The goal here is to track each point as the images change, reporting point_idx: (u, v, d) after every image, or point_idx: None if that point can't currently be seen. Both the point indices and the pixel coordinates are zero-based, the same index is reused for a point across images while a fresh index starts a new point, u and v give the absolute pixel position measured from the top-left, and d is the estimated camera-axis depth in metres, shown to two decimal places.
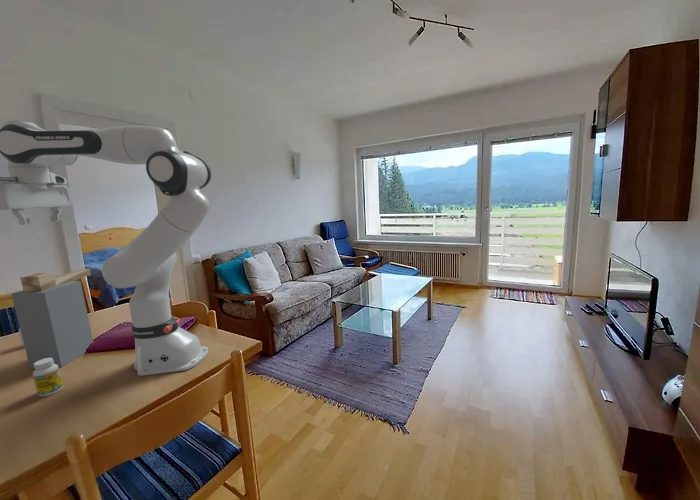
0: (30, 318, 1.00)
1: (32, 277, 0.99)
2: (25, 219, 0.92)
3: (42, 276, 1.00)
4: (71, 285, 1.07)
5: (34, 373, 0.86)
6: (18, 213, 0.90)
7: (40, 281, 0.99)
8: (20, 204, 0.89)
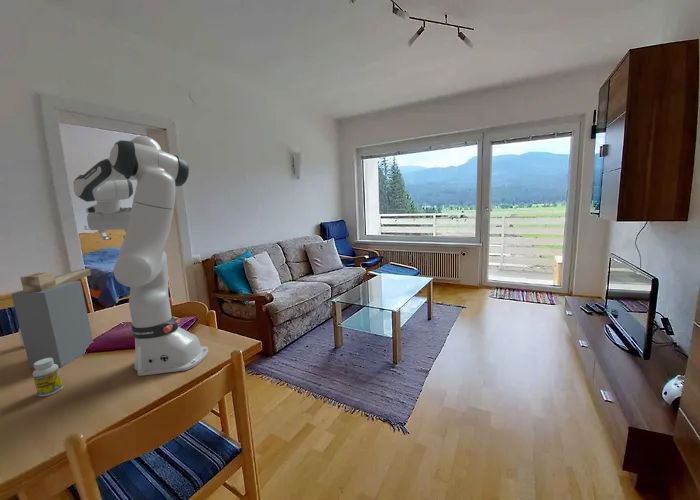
0: (30, 318, 1.00)
1: (32, 277, 0.99)
2: None
3: (42, 276, 1.00)
4: (71, 285, 1.07)
5: (34, 373, 0.86)
6: None
7: (40, 281, 0.99)
8: None
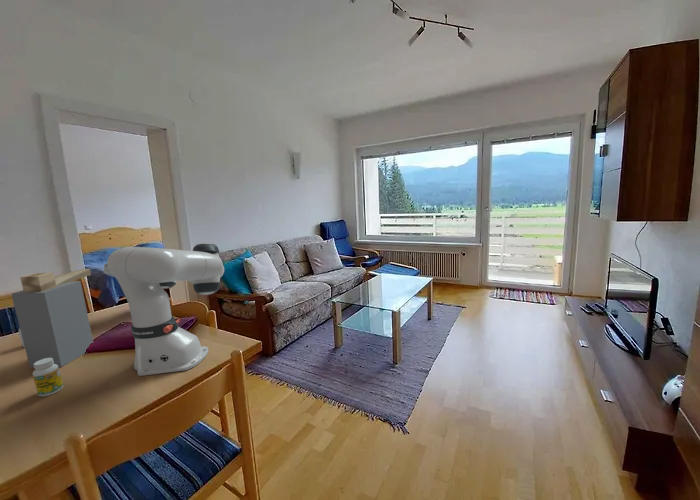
0: (30, 318, 1.00)
1: (32, 277, 0.99)
2: None
3: (42, 276, 1.00)
4: (71, 285, 1.07)
5: (34, 373, 0.86)
6: None
7: (40, 281, 0.99)
8: None
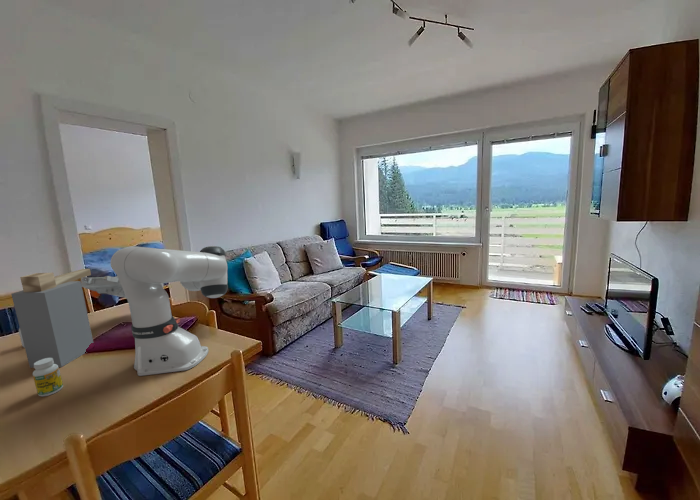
0: (30, 318, 1.00)
1: (32, 277, 0.99)
2: (109, 280, 1.24)
3: (42, 276, 1.00)
4: (71, 285, 1.07)
5: (34, 373, 0.86)
6: (115, 281, 1.26)
7: (40, 281, 0.99)
8: (119, 285, 1.28)
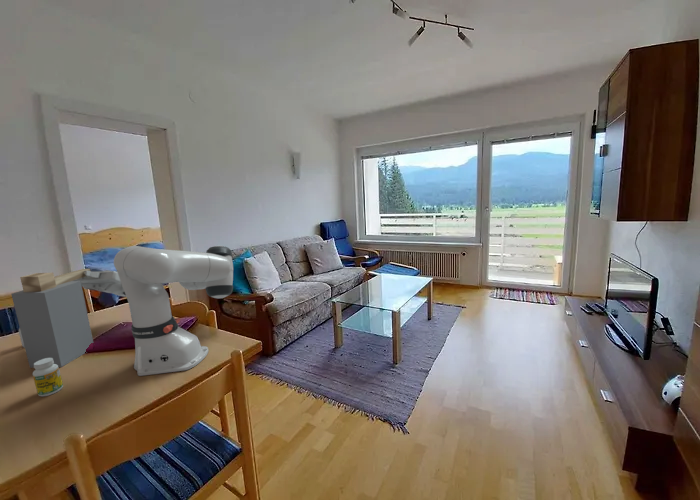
0: (30, 318, 1.00)
1: (32, 277, 0.99)
2: (88, 275, 1.17)
3: (42, 276, 1.00)
4: (71, 285, 1.07)
5: (34, 373, 0.86)
6: (96, 276, 1.19)
7: (40, 281, 0.99)
8: (106, 280, 1.21)
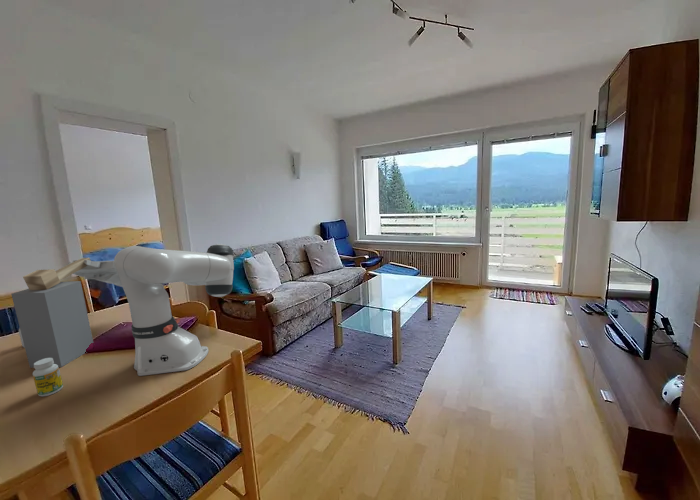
0: (30, 318, 1.00)
1: (35, 276, 1.00)
2: (89, 265, 1.18)
3: (44, 275, 1.01)
4: (71, 285, 1.07)
5: (34, 373, 0.86)
6: (96, 265, 1.20)
7: (44, 280, 1.01)
8: (107, 270, 1.21)
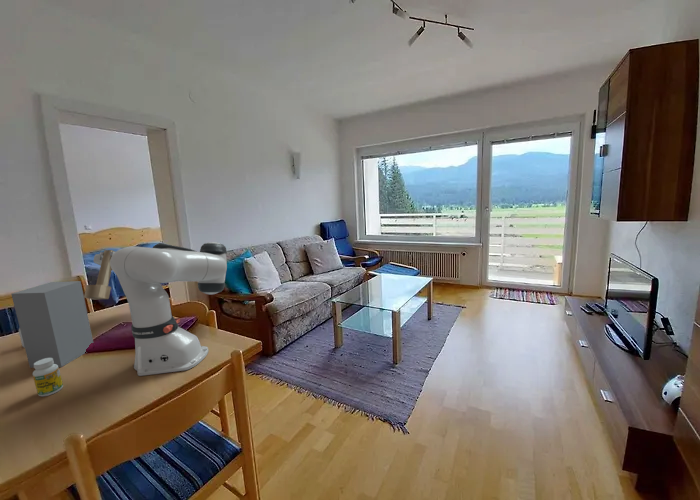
0: (30, 318, 1.00)
1: (93, 297, 1.21)
2: None
3: (99, 293, 1.22)
4: (71, 285, 1.07)
5: (34, 373, 0.86)
6: None
7: (102, 296, 1.23)
8: None
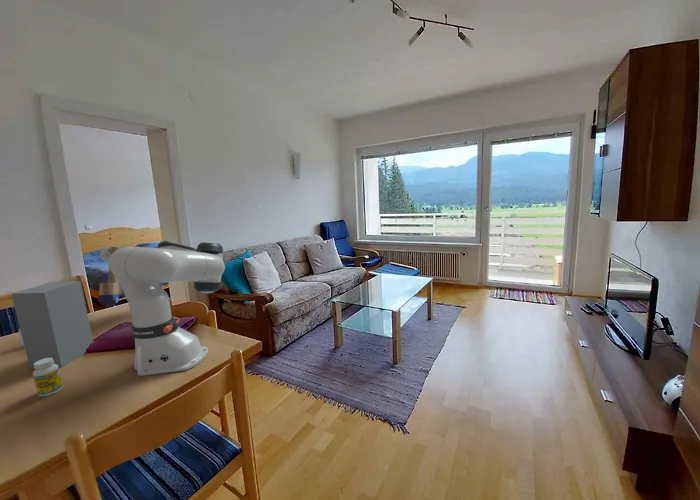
0: (30, 318, 1.00)
1: (108, 294, 1.28)
2: None
3: (113, 291, 1.29)
4: (71, 285, 1.07)
5: (34, 373, 0.86)
6: None
7: (116, 293, 1.30)
8: None
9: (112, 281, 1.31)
